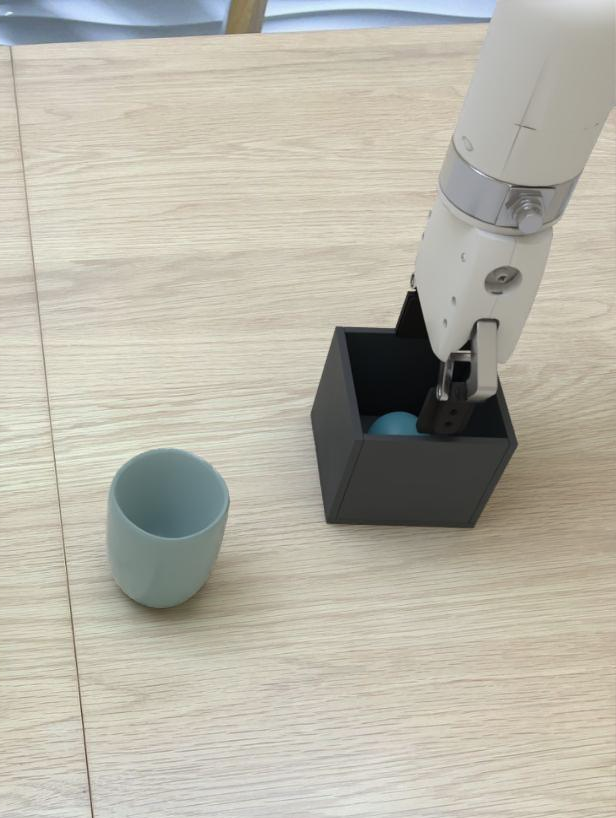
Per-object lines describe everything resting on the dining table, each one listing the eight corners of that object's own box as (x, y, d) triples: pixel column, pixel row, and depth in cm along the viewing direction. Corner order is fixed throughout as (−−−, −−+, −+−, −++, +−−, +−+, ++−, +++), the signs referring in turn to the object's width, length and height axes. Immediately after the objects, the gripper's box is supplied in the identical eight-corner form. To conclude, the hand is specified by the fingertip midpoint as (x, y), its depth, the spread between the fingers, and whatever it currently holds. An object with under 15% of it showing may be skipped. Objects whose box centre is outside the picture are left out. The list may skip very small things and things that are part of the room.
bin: (447, 417, 89) (485, 330, 81) (474, 528, 82) (518, 444, 75) (310, 413, 89) (335, 325, 81) (325, 523, 82) (355, 439, 75)
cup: (81, 571, 79) (85, 485, 71) (160, 517, 82) (172, 429, 74) (153, 643, 76) (166, 561, 68) (232, 584, 79) (254, 499, 71)
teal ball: (415, 441, 87) (433, 399, 83) (425, 488, 84) (444, 447, 80) (355, 439, 87) (369, 397, 83) (363, 486, 84) (378, 445, 80)
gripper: (612, 275, 59) (504, 477, 73) (538, 91, 69) (456, 299, 83) (472, 272, 59) (392, 475, 73) (419, 88, 69) (357, 297, 83)
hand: (426, 381), depth 78 cm, fingers open, 8 cm apart
